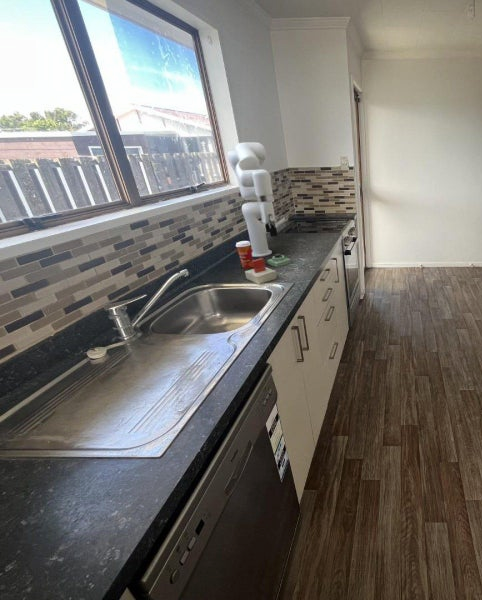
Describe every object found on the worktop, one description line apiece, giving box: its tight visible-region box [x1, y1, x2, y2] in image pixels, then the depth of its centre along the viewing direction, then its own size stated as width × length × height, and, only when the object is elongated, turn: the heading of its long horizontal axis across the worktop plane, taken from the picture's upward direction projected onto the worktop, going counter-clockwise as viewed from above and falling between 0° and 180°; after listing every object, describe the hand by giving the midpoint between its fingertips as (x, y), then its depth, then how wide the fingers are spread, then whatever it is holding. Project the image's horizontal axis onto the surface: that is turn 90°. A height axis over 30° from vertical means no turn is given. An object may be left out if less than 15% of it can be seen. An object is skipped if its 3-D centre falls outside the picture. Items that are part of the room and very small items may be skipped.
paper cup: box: [235, 240, 254, 269], centre depth 182 cm, size 8×8×14 cm
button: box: [274, 253, 282, 258], centre depth 187 cm, size 4×4×2 cm
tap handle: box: [252, 257, 267, 273], centre depth 165 cm, size 6×2×6 cm, turn 141°
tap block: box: [244, 266, 278, 285], centre depth 167 cm, size 12×10×4 cm
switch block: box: [266, 254, 292, 268], centre depth 188 cm, size 10×9×4 cm
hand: (271, 234), depth 163 cm, fingers open, 9 cm apart
